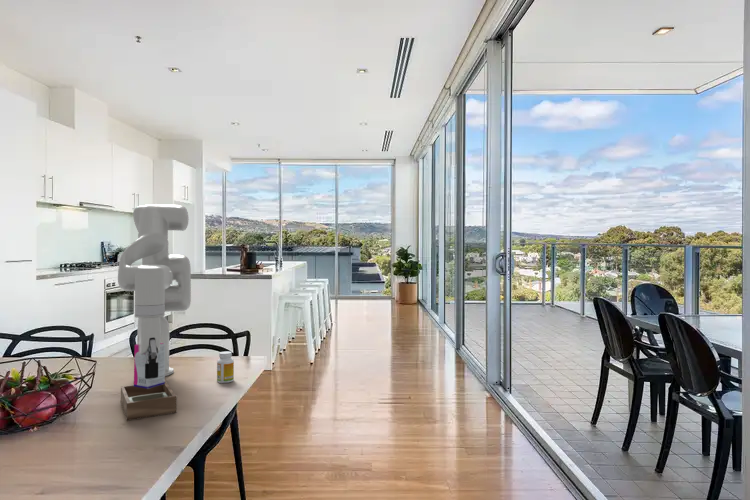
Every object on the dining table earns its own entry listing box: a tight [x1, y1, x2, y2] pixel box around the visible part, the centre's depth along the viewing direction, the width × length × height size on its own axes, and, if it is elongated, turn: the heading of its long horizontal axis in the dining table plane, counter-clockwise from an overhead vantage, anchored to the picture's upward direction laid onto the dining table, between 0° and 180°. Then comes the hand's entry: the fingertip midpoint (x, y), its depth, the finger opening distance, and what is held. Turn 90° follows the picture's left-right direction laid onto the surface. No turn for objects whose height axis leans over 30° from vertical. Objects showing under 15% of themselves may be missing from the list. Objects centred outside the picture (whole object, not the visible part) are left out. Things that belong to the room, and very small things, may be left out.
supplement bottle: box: [216, 351, 235, 384], centre depth 163 cm, size 5×5×10 cm
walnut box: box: [120, 380, 177, 422], centre depth 136 cm, size 18×12×4 cm, turn 32°
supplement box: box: [133, 343, 166, 389], centre depth 134 cm, size 6×6×12 cm
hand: (149, 374), depth 134 cm, fingers closed on supplement box, 7 cm apart
